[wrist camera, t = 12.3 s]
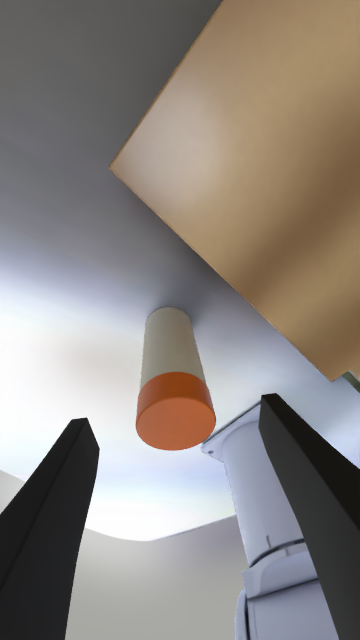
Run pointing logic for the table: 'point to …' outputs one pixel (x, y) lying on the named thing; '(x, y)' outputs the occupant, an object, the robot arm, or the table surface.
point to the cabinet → (266, 165)
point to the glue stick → (172, 385)
